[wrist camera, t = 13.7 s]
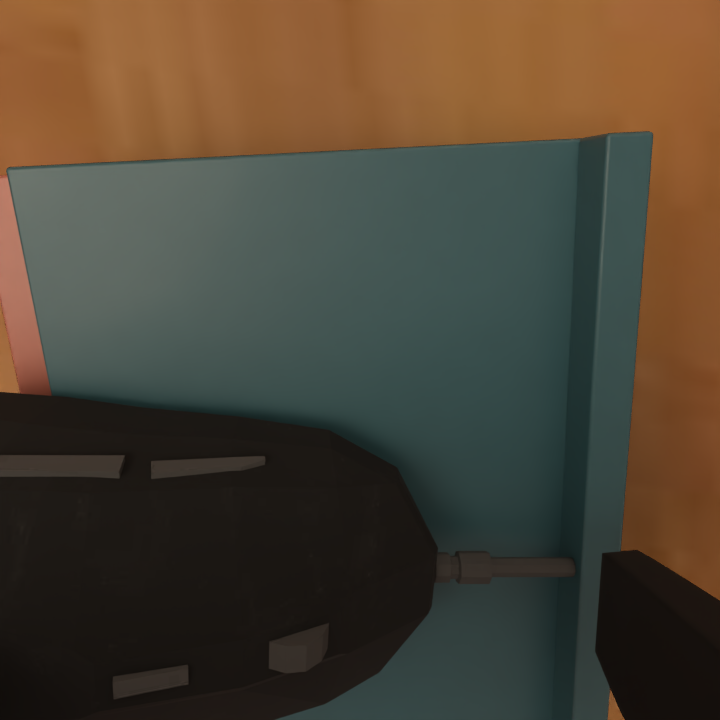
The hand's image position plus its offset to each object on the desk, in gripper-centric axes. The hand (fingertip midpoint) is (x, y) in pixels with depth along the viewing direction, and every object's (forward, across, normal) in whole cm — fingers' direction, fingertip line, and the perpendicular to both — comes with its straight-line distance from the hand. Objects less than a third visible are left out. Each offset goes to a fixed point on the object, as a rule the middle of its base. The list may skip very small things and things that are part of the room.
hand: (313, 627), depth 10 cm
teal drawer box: (+8, -1, 0) cm, 8 cm away
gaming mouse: (+3, +2, 0) cm, 4 cm away
